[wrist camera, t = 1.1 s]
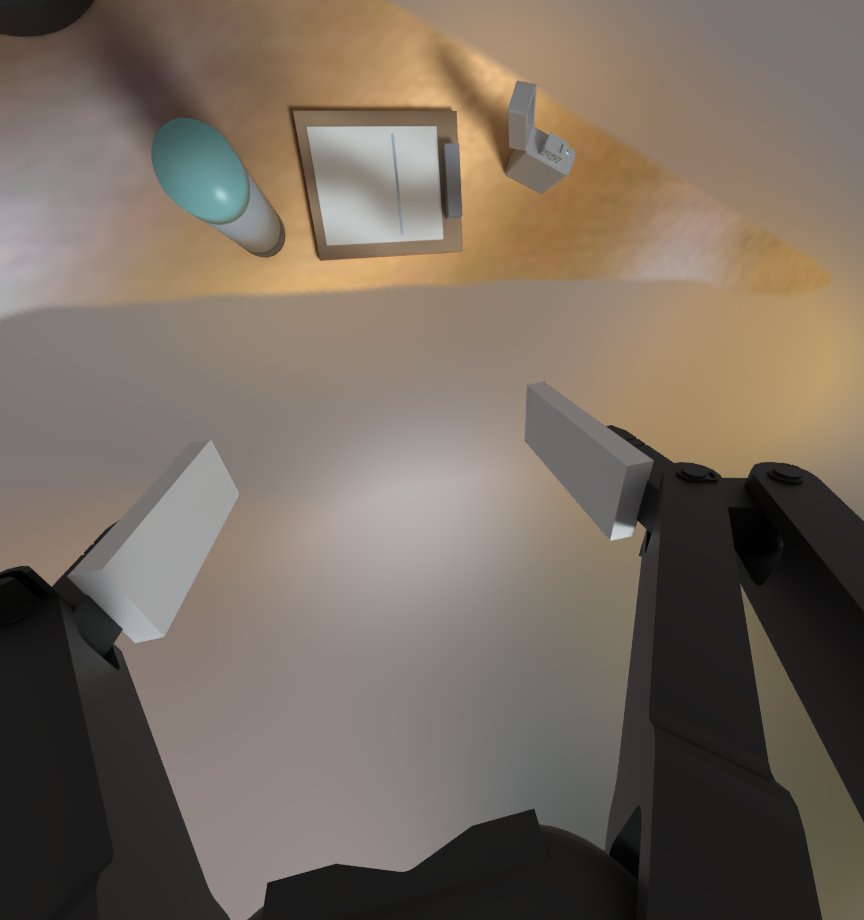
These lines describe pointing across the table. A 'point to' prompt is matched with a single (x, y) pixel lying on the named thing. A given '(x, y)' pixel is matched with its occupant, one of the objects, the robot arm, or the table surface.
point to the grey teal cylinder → (215, 185)
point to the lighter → (534, 145)
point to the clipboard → (382, 182)
